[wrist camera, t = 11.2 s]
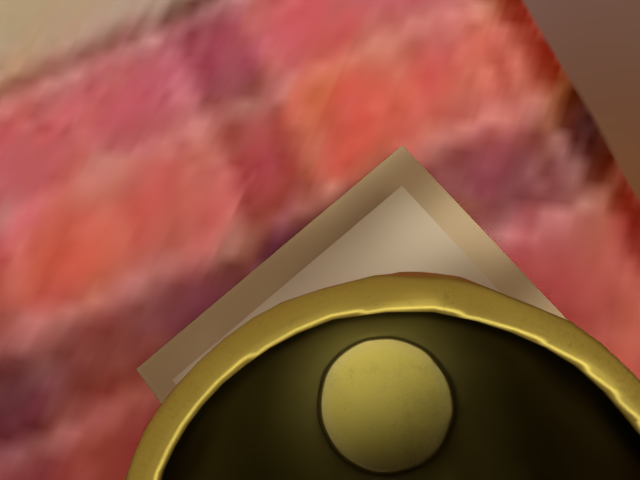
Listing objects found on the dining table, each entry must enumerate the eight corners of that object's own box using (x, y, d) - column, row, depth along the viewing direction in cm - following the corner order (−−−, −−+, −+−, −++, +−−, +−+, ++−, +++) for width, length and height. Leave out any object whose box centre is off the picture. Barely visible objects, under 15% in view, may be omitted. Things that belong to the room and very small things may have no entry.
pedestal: (630, 412, 25) (707, 434, 20) (367, 646, 25) (365, 741, 19) (399, 165, 29) (406, 119, 23) (161, 366, 28) (104, 372, 22)
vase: (517, 423, 18) (1032, 733, 4) (365, 537, 18) (322, 1292, 4) (402, 273, 19) (471, 91, 5) (259, 378, 19) (-76, 491, 5)
